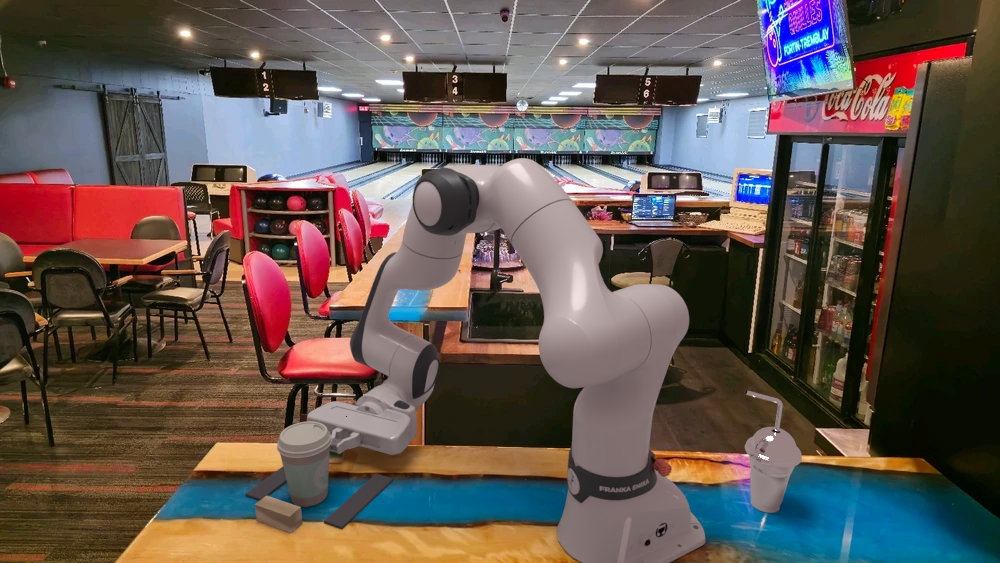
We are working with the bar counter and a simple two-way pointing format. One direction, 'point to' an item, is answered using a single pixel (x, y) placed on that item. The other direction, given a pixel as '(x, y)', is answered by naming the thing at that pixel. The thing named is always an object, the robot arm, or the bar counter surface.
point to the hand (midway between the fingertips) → (331, 448)
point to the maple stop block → (278, 514)
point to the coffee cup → (306, 461)
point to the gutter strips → (344, 511)
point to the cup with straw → (770, 462)
